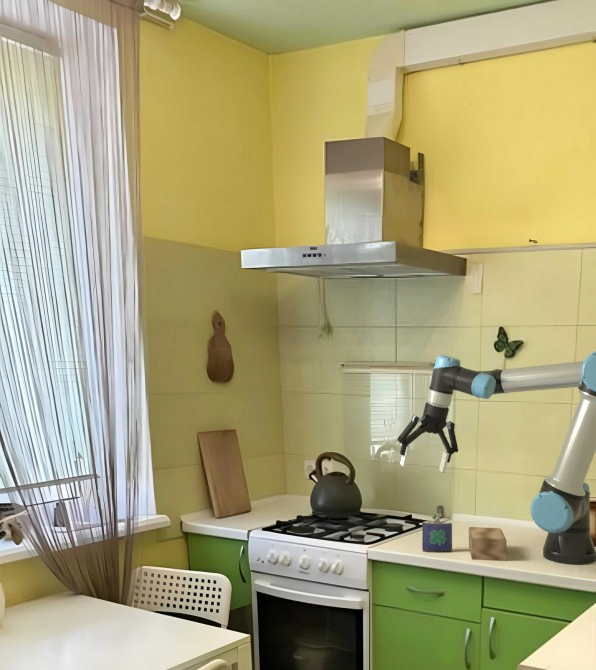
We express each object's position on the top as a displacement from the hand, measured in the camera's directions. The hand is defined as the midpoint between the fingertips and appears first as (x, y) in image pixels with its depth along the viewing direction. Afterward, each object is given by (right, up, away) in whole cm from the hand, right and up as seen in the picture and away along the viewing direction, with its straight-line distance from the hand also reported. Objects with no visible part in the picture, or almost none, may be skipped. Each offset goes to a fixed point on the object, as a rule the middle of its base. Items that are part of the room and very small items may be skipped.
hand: (422, 468), depth 240 cm
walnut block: (+19, -24, -9) cm, 32 cm away
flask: (+4, -25, -6) cm, 26 cm away
